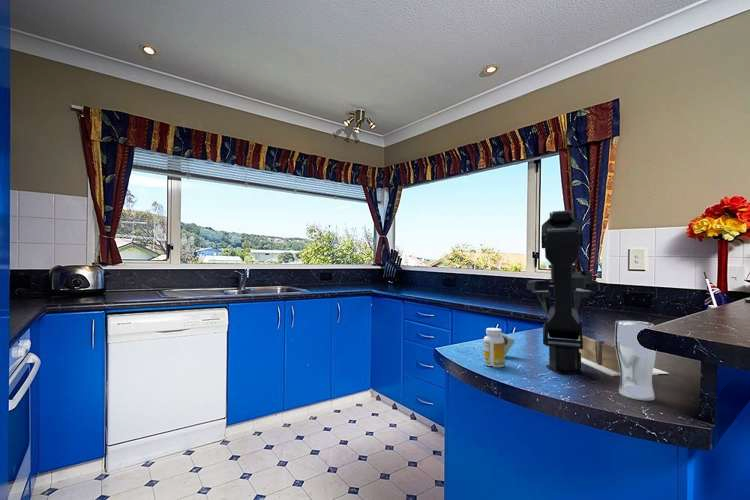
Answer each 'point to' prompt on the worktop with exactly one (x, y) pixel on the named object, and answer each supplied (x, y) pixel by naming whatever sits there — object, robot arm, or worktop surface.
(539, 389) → the worktop surface
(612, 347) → the fixed fence
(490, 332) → the supplement bottle
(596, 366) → the card
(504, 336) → the pig figurine
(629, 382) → the beer glass
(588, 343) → the fence panel
